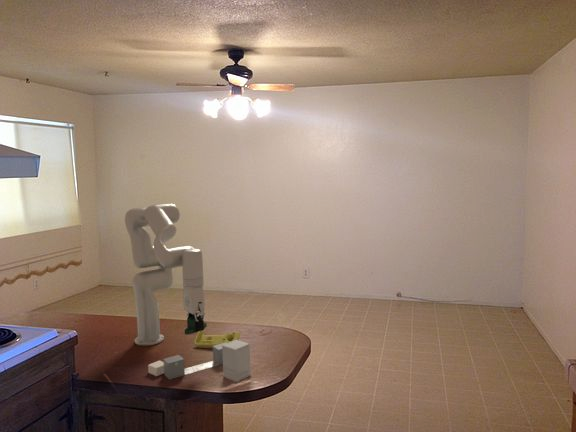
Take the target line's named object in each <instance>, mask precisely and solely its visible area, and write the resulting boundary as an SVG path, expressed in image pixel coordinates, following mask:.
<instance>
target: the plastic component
mask: <svg viewBox="0 0 576 432" xmlns="http://www.w3.org/2000/svg"><path fill="white" fill-rule="evenodd" d="M241 332H242V329H239V332H236V331H233V332H227V333H225V334H209V335H208V334H205V333H204V332H203V330H202V331H199V332H197V334H196V337H195V338H194V345H195V347H196V348H201V349H202V348H204V349H213V346H215V345H218V344H222V343H229V342H232V341H234V340H239V339H240V337H241V336H240V335H241Z"/></svg>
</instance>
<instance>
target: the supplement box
mask: <svg viewBox="0 0 576 432" xmlns="http://www.w3.org/2000/svg"><path fill="white" fill-rule="evenodd" d="M250 349H251V348H250V343H248V342H245V341H242V340H239V339H238V340H234V341H232V342H229V343H227V344H225V345H222V353H223V364H222V372H223V374H222V375H223V377H224V378H225V379H228V380H231V381H233V382H235V383H237V384H239V383H240V382H241V380H244V379H246V378H248V377H249V376H252V373H251V352H250Z"/></svg>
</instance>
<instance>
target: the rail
mask: <svg viewBox="0 0 576 432" xmlns="http://www.w3.org/2000/svg"><path fill="white" fill-rule="evenodd" d="M221 365H222V364H220V365H218V364H217V363H216V362H214V361H213V360H211V361H207V362H204V363H200V364H196V365H193V366H190V367H186V368H185V367H184V368H185V375H182V376H186V375H190V374H193V373H195V372H199V371H200V372H201V371H203V370H207V369H210V368H214V367H217V366H221ZM182 376H181V377H182ZM175 378H177V377H175ZM175 378H174V379H175Z"/></svg>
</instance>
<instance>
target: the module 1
mask: <svg viewBox="0 0 576 432" xmlns="http://www.w3.org/2000/svg"><path fill="white" fill-rule="evenodd" d="M162 362H164V373H163V375H164V376H165V377H166V378H167V379H168V380H173V379H175V377H176V378H179V377H182V375H183V376H186V375H185V358H184V357H182V356H181V355H180V354H177V355H172V356H169V357H166V358H163V361H162Z"/></svg>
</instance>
